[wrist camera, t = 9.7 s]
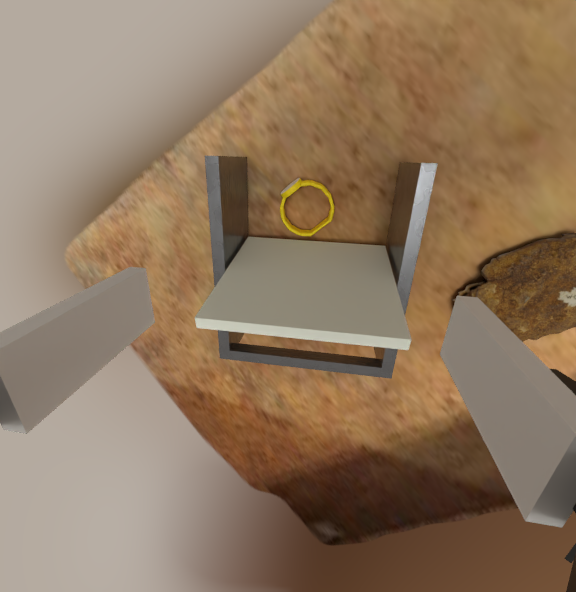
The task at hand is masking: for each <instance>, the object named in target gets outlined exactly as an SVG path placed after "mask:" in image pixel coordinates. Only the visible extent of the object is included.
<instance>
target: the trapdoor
mask: <svg viewBox="0 0 576 592" xmlns="http://www.w3.org/2000/svg"><path fill="white" fill-rule="evenodd" d="M195 322H196V327H197V328H203V329H213V330H222V331H231V332H241V333H250V334H260V335H269V336H279V337H288V338H298V339H307V340H317V341H326V342H335V343H345V344H354V345H364V346H373V347H383V348H392V349H402V350H408V349H409V346H410V343H411V336H410V333H409V329H408V326H407V322H406V318H405V315H404V311H403V308H402V304H401V301H400V297H399V293H398V290H397V286H396V283H395V279H394V275H393V272H392V268H391V265H390V261H389V258H388V254H387V250H386V247H385V246H381V245H366V244H351V243H336V242H321V241H306V240H291V239H276V238H260V237H248V238H247V239H246V241H245V243H244V244H243V246H242V247H241V249H240V250H239V252H238V253H237V255H236V256H235V258H234V259H233V261H232V262H231V264H230V265H229V267H228V268H227V270H226V271H225V273H224V274H223V276H222V277H221V279H220V280H219V282H218V283H217V285H216V286H215V288H214V289H213V291H212V292H211V294H210V295H209V297H208V298H207V300H206V301H205V303H204V304H203V306H202V307H201V309H200V310H199V312H198V313H197V315H196V316H195Z"/></svg>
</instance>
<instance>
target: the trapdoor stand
mask: <svg viewBox="0 0 576 592" xmlns="http://www.w3.org/2000/svg"><path fill="white" fill-rule="evenodd" d="M437 164H438V163H402V162H400V165H399V171H398V177H397V183H396V189H395V195H394V201H393V207H392V213H391V219H390V225H389V231H388V236H387V242H386V250H387V254H388V258H389V261H390V265H391V268H392V272H393V275H394V279H395V283H396V286H397V290H398V293H399V297H400V301H401V304H402V308H403V311H404V315H405V313H406V308H407V303H408V299H409V294H410V289H411V285H412V280H413V275H414V271H415V266H416V261H417V257H418V252H419V248H420V243H421V238H422V234H423V229H424V224H425V220H426V215H427V210H428V206H429V201H430V196H431V192H432V187H433V182H434V178H435V173H436V168H437ZM205 165H206V179H207V192H208V205H209V218H210V232H211V245H212V258H213V272H214V285H215V286H216V285H217V283H218V282H219V280H220V279H221V277H222V276H223V274H224V273H225V271H226V270H227V268H228V267H229V265H230V264H231V262H232V261H233V259H234V258H235V256H236V255H237V253H238V252H239V250H240V249H241V247H242V246H243V244H244V243H245V241H246V239H247V238H248V237H249V232H248V189H247V157H227V156H205ZM243 335H244V333H241V332H231V331H222V330H218V338H219V352H220V358H222V359H230V360H239V361H247V362H256V363H264V364H273V365H281V366H290V367H298V368H307V369H315V370H324V371H332V372H341V373H349V374H358V375H366V376H375V377H383V378H392V373H393V368H394V364H395V359H396V354H397V350H398V349H392V348H383V347H374V350H375V355H376V359H375V358H366V357H357V356H348V355H339V354H330V353H321V352H312V351H303V350H294V349H285V348H276V347H266V346H257V345H248V344H239V342H240V340H241V338H242V337H243Z"/></svg>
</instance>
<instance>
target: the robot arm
mask: <svg viewBox="0 0 576 592" xmlns="http://www.w3.org/2000/svg"><path fill="white" fill-rule="evenodd" d="M154 323H155V319H154V314H153V308H152V302H151V296H150V291H149V285H148V279H147V273H146V268H136V267H129V268H127V269H125V270H123V271H121V272H119V273H117V274H115V275H113V276H111V277H109V278H107V279H105V280H103V281H101V282H99V283H97V284H95V285H93V286H91V287H89V288H87V289H85V290H83V291H81V292H79V293H77V294H75V295H74V296H72V297H70V298H68V299H66V300H64V301H62V302H60V303H58V304H56V305H54V306H52V307H50V308H48V309H46V310H44V311H42V312H40V313H38V314H36V315H34V316H32V317H30V318H28V319H26V320H24V321H22V322H20V323H18V324H16V325H14V326H12V327H10V328H8V329H6V330H4V331H2V332H0V423H1V425H2V427H3V429H4V430H8V431H14V432H20V433H26V434H27V433H28V432H29V431H30V430H32V429H33V428H34V427H35V426H36V425H37V424H39V423H40V422H41V421H42V420H43V419H44V418H45V417H47V415H49V414H50V413H51V412H52V411H54V410H55V409H56V408H57V407H58V406H59V405H60V404H62V403H63V402H64V401H65V400H66V399H67V398H68V397H69V396H71V395H72V394H73V393H74V392H75V391H77V390H78V389H79V388H80V387H81V386H82V385H83V384H85V383H86V382H87V381H88V380H89V379H90V378H91V377H93V376H94V375H95V374H96V373H97V372H98V371H99V370H101V369H102V368H103V367H104V366H105V365H106V364H108V363H109V362H110V361H111V360H112V359H113V358H114V357H116V356H117V355H118V354H119V353H120V352H121V351H123V350H124V349H125V348H126V347H127V346H128V345H129V344H131V343H132V342H133V341H134V340H135V339H136V338H137V337H139V336H140V335H141V334H142V333H143V332H144V331H146V330H147V329H148V328H149V327H150V326H151V325H152V324H154ZM440 355H441V357H442V359H443V361H444V363H445V365H446V367H447V369H448V371H449V373H450V375H451V377H452V379H453V381H454V383H455V385H456V387H457V389H458V391H459V392H460V394H461V396H462V398H463V400H464V402H465V404H466V406H467V408H468V410H469V412H470V414H471V416H472V418H473V420H474V422H475V424H476V426H477V428H478V430H479V432H480V434H481V436H482V437H483V439H484V441H485V443H486V445H487V447H488V449H489V451H490V453H491V455H492V457H493V459H494V461H495V463H496V465H497V467H498V469H499V471H500V473H501V475H502V477H503V479H504V481H505V483H506V484H507V486H508V488H509V490H510V492H511V494H512V496H513V498H514V500H515V502H516V504H517V506H518V508H519V510H520V512H521V514H522V516H523V518H524V519H525V521H528V522H534V523H540V524H545V525H551V526H557V527H563V525H564V524H565V522H566V521H567V519H568V518H569V516H570V515H571V514H572V512H573V511H575V513H576V381H574V380H572V379H571V378H569V377H567V376H566V375H564V374H563V373H561V372H559V371H558V370H556V369H549V368H548V367H547V366H546V365H545V364H544V363H543V362H542V361H541V360H540V359H539V358H538V357H537V356H536V355H535V354H534V353H533V352H532V351H531V350H530V349H529V348H528V347H527V346H526V345H525V344H524V343H523V342H522V341H521V340H520V339H519V338H518V337H517V336H516V335H515V334H514V333H513V332H512V331H511V330H510V329H509V328H508V327H507V326H506V325H505V324H504V323H503V322H502V321H501V320H500V319H499V318H498V317H497V316H496V315H495V314H494V313H493V312H492V311H491V310H490V309H489V308H488V307H487V306H486V305H485V304H484V303H483V302H482V301H481V300H480V299H479V298H478V297H468V296H457V297H456V300H455V304H454V307H453V311H452V314H451V318H450V321H449V324H448V328H447V331H446V335H445V338H444V342H443V345H442V349H441V352H440ZM565 559H566V560H567V561H569V562H570V563H572V561H573V560H574V562H573V567H572V571H571V574H570V579H569V583H568V587H567V591H566V592H576V544H575V545H574V546H573V548H572V549H571V551H570V552H569V553H568V555H567V556H566V557H565Z"/></svg>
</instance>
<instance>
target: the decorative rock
mask: <svg viewBox="0 0 576 592" xmlns="http://www.w3.org/2000/svg"><path fill="white" fill-rule="evenodd" d="M561 235H562V237H561V238H548V239H542V240H538V241H535V242H533V243H530V244H528V245H526V246H523V247H521V248H519V249H516V250H514V251H511V252H508V253H505V254H502V255H499V256H498V257H497V258H493V259H491V263H489V264H487V265H485V266H484V268H483V269H482V271H481V275H482V276H483V277H484V278H485V280H484V281H483V282H480V283H474V284H470V285H467V287H466V289H465V290H464V291H461V292H458V294H459V295H458V296H468V297H478V298H479V299H480V300H481V301H482V302H483V303H484V304H485V305H486V306H487V307H488V308H489V309H490V310H491V311H492V312H493V313H494V314H495V315H496V316H497V317H498V318H499V319H500V320H501V321H502V322H503V323H504V324H505V325H506V326H507V327H508V328H509V329H510V330H511V331H512V332H513V333H514V334H515V335H516V336H517V337H518V338H519V339H520V340H521V341H522V342H523V341H525V340H527V339H531V340H537V339H539V338H541V337H542V336H546V335H549V334H557V333H561V332H563V331H565V330H568V329H570V328H573V327H576V233H571V234H561ZM455 300H456V299H453V301H455Z"/></svg>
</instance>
